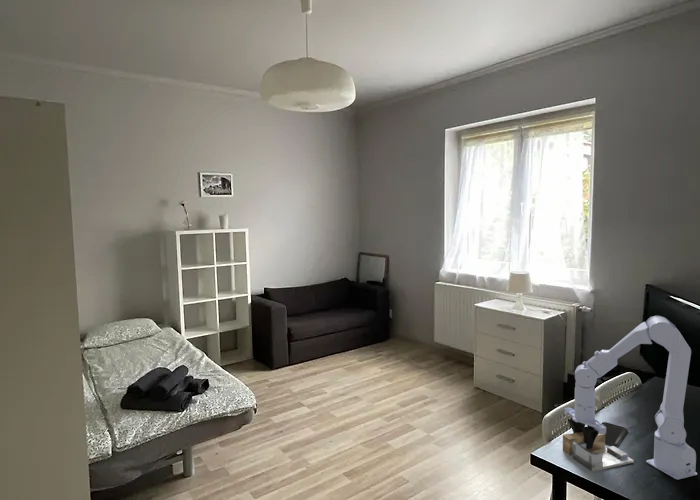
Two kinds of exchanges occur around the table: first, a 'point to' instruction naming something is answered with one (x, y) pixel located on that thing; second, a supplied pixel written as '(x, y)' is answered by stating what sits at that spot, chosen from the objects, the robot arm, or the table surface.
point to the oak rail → (579, 438)
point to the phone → (614, 434)
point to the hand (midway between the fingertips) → (583, 445)
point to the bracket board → (600, 457)
